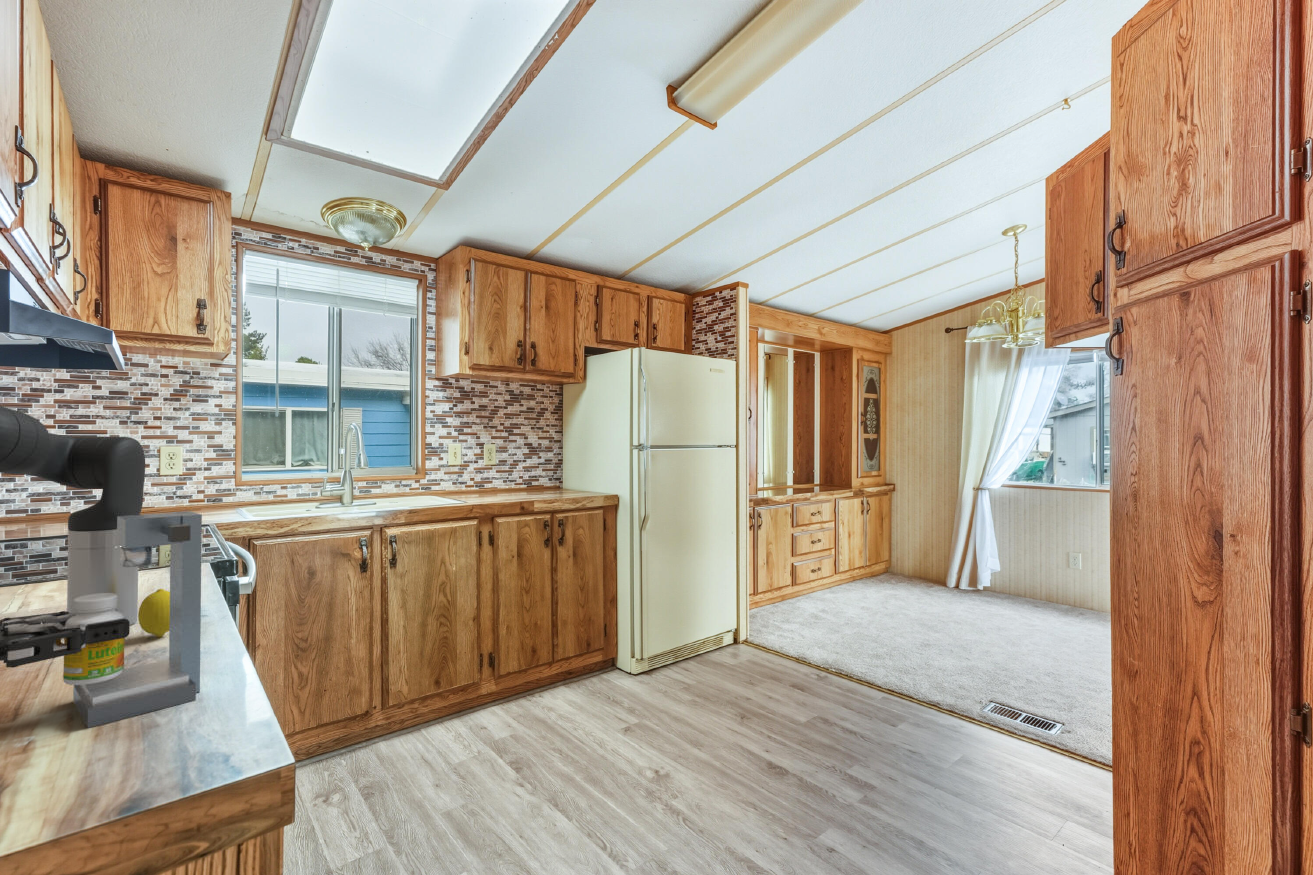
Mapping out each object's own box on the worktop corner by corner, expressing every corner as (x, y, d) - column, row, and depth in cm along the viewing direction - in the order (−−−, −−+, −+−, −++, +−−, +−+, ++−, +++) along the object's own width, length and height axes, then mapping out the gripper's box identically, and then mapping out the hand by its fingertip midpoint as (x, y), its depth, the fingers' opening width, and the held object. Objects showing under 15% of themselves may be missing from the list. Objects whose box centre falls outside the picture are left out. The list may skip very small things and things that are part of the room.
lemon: (154, 632, 104) (154, 585, 104) (188, 631, 104) (189, 584, 104) (128, 643, 98) (129, 593, 98) (165, 642, 99) (166, 592, 99)
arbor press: (73, 701, 76) (75, 516, 76) (182, 675, 85) (184, 509, 85) (93, 738, 67) (96, 527, 67) (214, 705, 75) (216, 518, 75)
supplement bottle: (86, 688, 70) (88, 604, 71) (50, 683, 72) (52, 600, 72) (135, 671, 76) (137, 593, 76) (101, 667, 77) (102, 590, 77)
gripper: (-93, 636, 58) (137, 602, 71) (-89, 608, 68) (114, 582, 80) (-95, 715, 58) (135, 666, 71) (-91, 676, 68) (112, 639, 80)
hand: (123, 622), depth 76 cm, fingers closed on supplement bottle, 5 cm apart
